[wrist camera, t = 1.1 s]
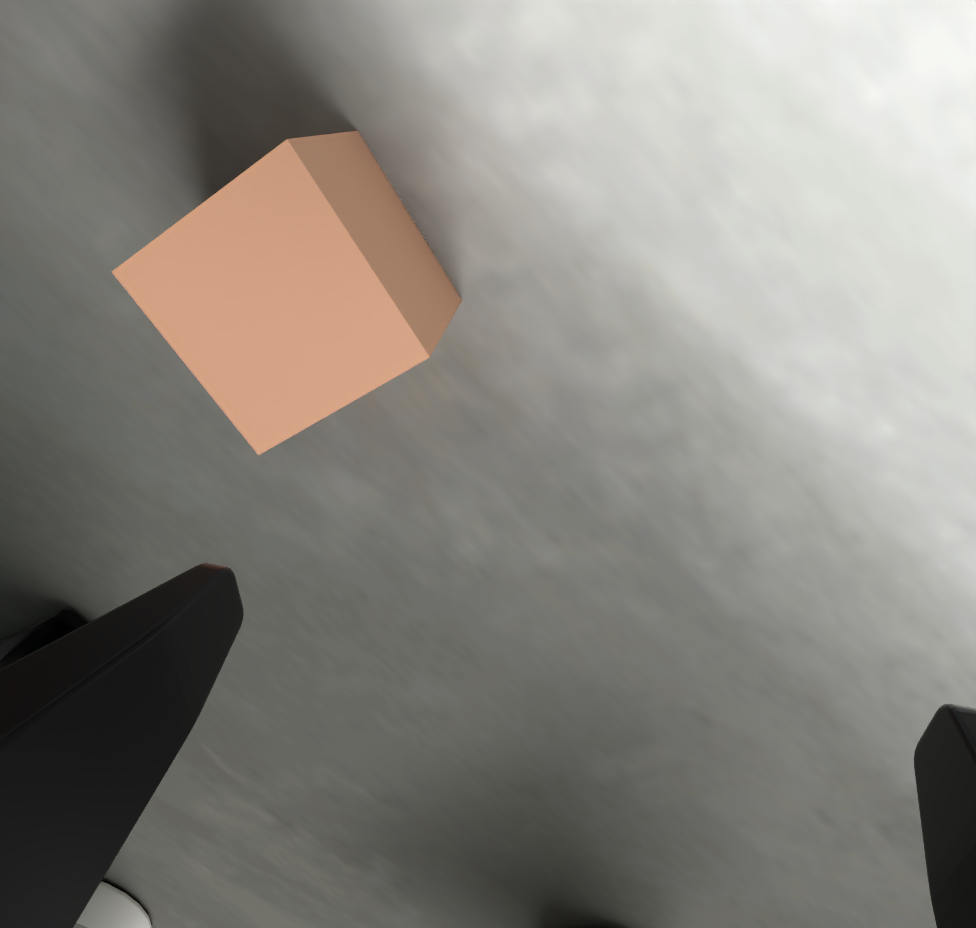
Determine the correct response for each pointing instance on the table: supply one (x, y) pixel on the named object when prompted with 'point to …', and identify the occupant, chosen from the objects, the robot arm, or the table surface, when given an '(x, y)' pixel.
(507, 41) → the table surface
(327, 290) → the terracotta block
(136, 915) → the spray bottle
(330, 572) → the table surface
